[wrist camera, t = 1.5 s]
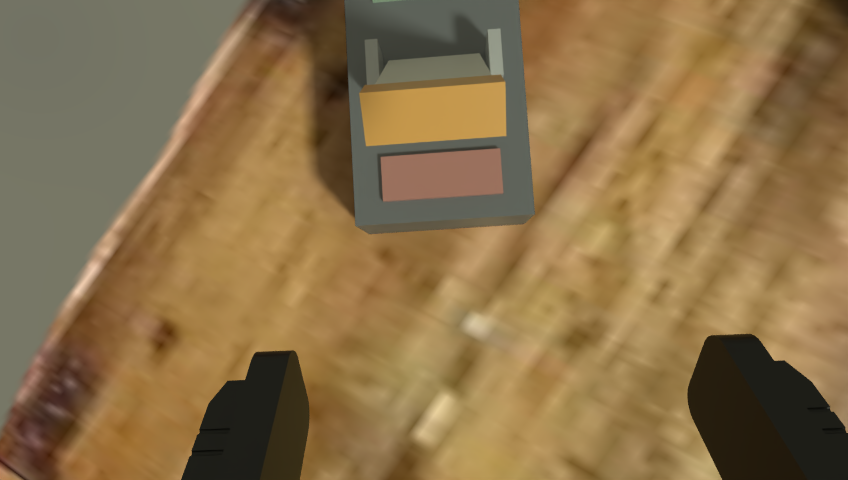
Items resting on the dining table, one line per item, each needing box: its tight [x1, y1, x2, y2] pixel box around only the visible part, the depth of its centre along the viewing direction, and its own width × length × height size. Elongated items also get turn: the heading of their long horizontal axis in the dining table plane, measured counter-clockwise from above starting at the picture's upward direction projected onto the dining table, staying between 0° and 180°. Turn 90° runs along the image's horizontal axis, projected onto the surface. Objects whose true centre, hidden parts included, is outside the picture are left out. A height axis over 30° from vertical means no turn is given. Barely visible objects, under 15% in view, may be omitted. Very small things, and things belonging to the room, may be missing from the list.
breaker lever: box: [359, 53, 506, 146], centre depth 31 cm, size 2×6×14 cm, turn 93°
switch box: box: [344, 0, 535, 234], centre depth 39 cm, size 20×12×9 cm, turn 3°
